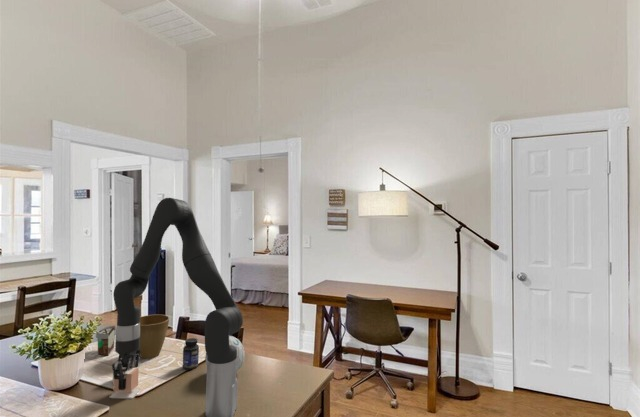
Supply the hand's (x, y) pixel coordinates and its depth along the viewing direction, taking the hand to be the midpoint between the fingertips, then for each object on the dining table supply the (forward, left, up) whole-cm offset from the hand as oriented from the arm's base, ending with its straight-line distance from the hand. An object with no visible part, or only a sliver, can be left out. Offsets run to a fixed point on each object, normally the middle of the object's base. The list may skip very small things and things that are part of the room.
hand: (126, 385), depth 120 cm
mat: (0, 0, -3) cm, 3 cm away
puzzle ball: (-30, -17, -3) cm, 34 cm away
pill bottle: (-14, -23, -3) cm, 27 cm away
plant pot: (+8, -33, -3) cm, 34 cm away
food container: (+30, -35, -3) cm, 46 cm away
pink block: (0, 0, -1) cm, 1 cm away
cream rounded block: (+6, -10, -3) cm, 11 cm away
